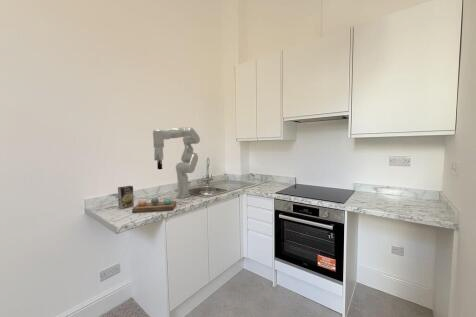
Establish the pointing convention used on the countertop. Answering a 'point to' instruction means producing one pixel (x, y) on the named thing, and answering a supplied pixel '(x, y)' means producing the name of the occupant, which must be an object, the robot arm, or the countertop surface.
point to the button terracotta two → (142, 203)
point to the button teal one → (167, 201)
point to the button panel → (154, 207)
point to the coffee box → (125, 197)
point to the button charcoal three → (154, 201)
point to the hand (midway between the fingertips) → (159, 169)
